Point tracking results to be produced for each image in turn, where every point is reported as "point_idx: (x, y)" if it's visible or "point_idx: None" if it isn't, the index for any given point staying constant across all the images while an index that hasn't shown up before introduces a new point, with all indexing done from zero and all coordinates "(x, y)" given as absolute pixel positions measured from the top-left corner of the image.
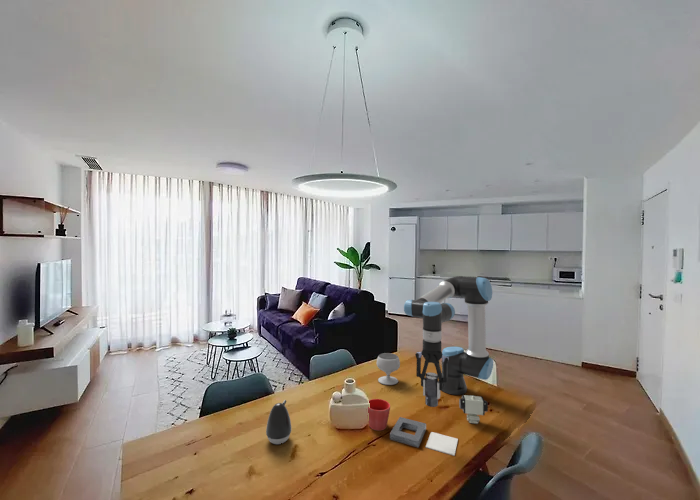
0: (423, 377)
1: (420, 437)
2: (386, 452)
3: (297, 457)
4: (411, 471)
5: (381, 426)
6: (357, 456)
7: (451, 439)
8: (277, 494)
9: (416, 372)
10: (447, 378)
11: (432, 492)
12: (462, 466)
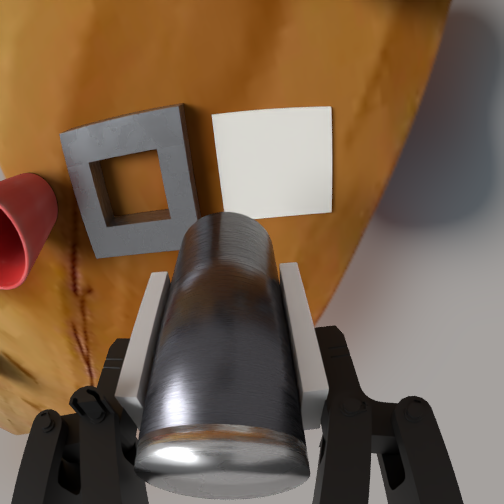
0: None
1: (196, 217)
2: (134, 300)
3: (34, 374)
4: None
5: (50, 231)
6: (95, 339)
7: (307, 124)
8: None
9: (61, 476)
10: (428, 425)
11: None
12: (357, 244)
